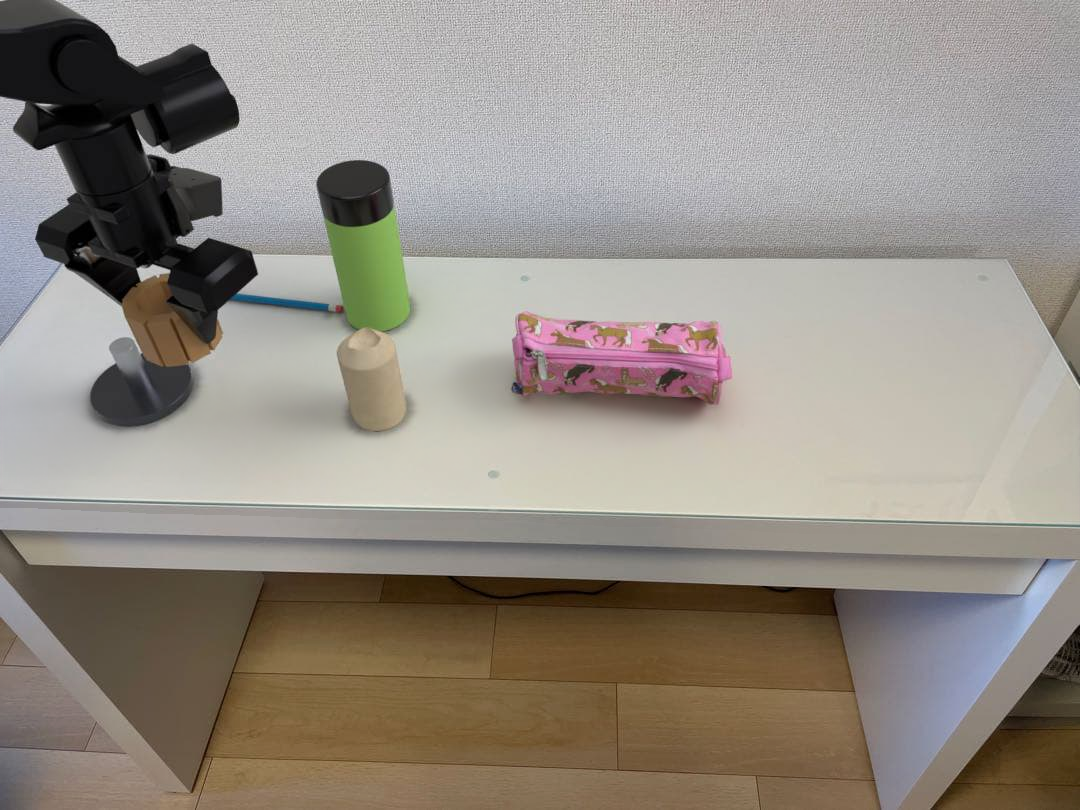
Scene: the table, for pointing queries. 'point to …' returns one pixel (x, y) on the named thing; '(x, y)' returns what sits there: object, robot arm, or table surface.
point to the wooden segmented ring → (162, 325)
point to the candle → (372, 379)
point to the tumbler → (365, 243)
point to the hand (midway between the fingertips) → (177, 329)
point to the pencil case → (619, 358)
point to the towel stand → (138, 387)
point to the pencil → (288, 302)
